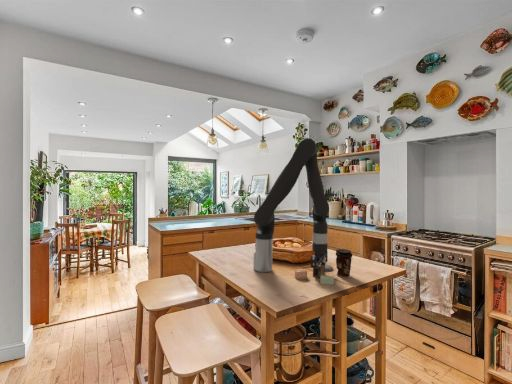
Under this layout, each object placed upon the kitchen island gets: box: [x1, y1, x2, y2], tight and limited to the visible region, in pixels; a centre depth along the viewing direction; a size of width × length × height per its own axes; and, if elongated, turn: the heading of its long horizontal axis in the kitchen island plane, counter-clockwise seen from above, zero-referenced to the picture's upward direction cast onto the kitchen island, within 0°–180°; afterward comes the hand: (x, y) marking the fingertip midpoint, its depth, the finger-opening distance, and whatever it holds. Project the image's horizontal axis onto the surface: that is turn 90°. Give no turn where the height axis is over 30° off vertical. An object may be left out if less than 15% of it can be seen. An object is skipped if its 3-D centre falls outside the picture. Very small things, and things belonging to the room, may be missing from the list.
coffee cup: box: [335, 248, 353, 279], centre depth 138 cm, size 9×8×13 cm
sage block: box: [319, 275, 335, 286], centre depth 128 cm, size 6×4×3 cm, turn 77°
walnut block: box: [312, 263, 326, 279], centre depth 137 cm, size 4×4×6 cm
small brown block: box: [294, 268, 308, 281], centre depth 134 cm, size 6×6×4 cm
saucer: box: [325, 264, 333, 272], centre depth 149 cm, size 9×9×1 cm
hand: (319, 273), depth 137 cm, fingers open, 8 cm apart
